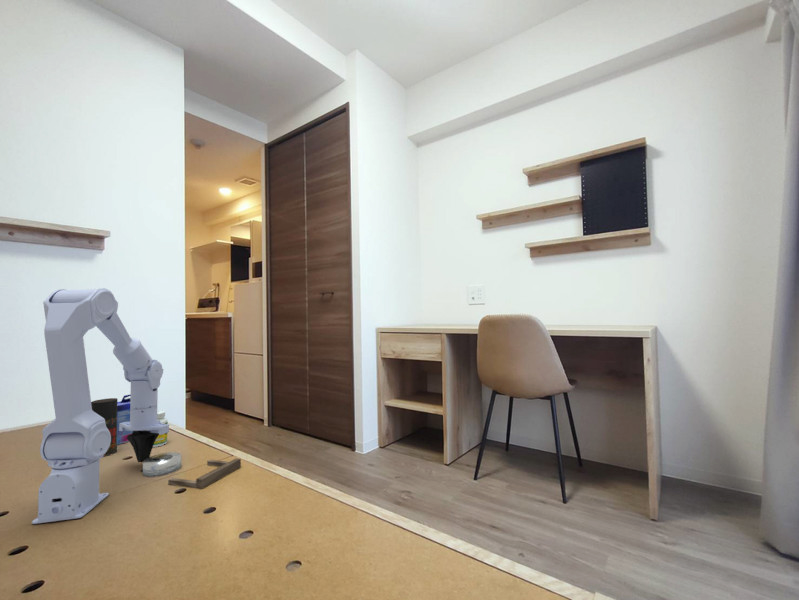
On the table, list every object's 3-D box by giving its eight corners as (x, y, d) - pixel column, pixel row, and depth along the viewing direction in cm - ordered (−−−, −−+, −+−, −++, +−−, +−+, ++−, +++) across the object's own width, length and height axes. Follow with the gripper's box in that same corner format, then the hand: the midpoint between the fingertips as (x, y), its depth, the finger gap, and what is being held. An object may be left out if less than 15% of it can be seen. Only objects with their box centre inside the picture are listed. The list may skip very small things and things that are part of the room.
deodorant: (85, 458, 99) (86, 403, 100) (96, 451, 105) (97, 399, 105) (110, 456, 100) (111, 401, 101) (120, 449, 106) (121, 397, 107)
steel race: (172, 476, 87) (172, 462, 87) (135, 479, 85) (135, 465, 85) (186, 462, 95) (186, 450, 95) (153, 465, 93) (153, 453, 93)
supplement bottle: (145, 444, 110) (145, 412, 110) (166, 440, 113) (166, 409, 113) (146, 449, 105) (147, 416, 106) (168, 444, 109) (168, 412, 109)
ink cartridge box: (115, 446, 109) (116, 397, 109) (102, 445, 110) (103, 397, 111) (146, 436, 118) (147, 391, 119) (134, 435, 120) (134, 390, 121)
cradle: (240, 467, 90) (240, 458, 90) (201, 488, 79) (201, 479, 79) (210, 463, 93) (210, 455, 93) (168, 484, 82) (168, 475, 82)
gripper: (179, 404, 94) (179, 457, 94) (138, 402, 99) (137, 452, 98) (154, 410, 88) (153, 468, 87) (111, 408, 92) (110, 462, 91)
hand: (143, 460), depth 92 cm, fingers closed
